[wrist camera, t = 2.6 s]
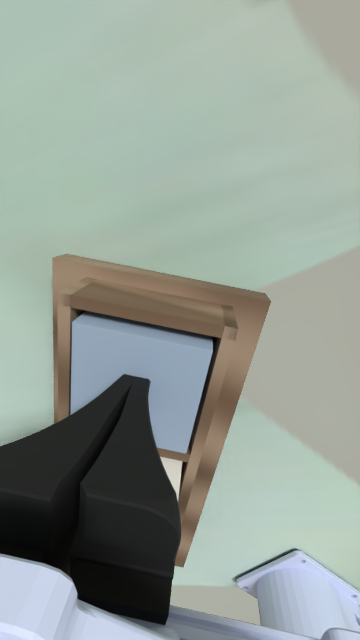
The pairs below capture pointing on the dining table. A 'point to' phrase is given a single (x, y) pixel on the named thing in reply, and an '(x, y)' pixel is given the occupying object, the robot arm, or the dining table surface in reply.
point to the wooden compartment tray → (174, 312)
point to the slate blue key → (142, 369)
